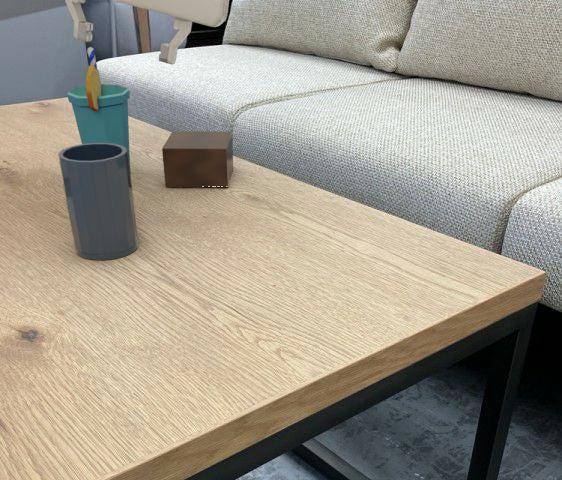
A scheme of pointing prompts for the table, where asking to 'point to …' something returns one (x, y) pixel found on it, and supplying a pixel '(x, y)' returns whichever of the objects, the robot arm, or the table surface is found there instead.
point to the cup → (101, 109)
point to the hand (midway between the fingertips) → (124, 51)
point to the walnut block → (198, 159)
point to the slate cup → (99, 200)
